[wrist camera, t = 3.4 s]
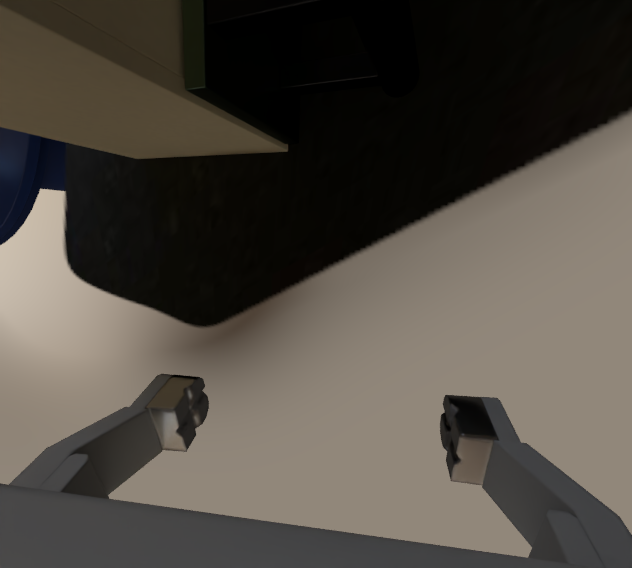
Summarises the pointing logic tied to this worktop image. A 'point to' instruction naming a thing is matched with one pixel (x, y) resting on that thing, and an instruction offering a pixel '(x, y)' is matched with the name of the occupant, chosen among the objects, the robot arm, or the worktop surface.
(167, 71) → the cube with dark spot
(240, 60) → the door with handle
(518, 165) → the worktop surface
